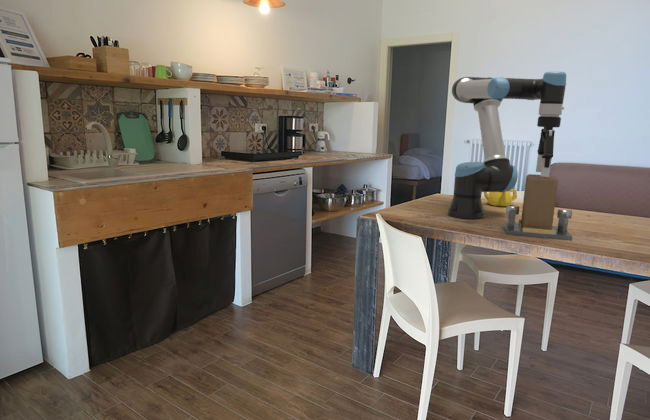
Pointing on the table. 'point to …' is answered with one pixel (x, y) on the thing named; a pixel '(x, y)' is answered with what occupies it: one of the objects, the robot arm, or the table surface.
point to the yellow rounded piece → (500, 198)
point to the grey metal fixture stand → (555, 233)
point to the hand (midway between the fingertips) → (542, 174)
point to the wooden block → (539, 201)
